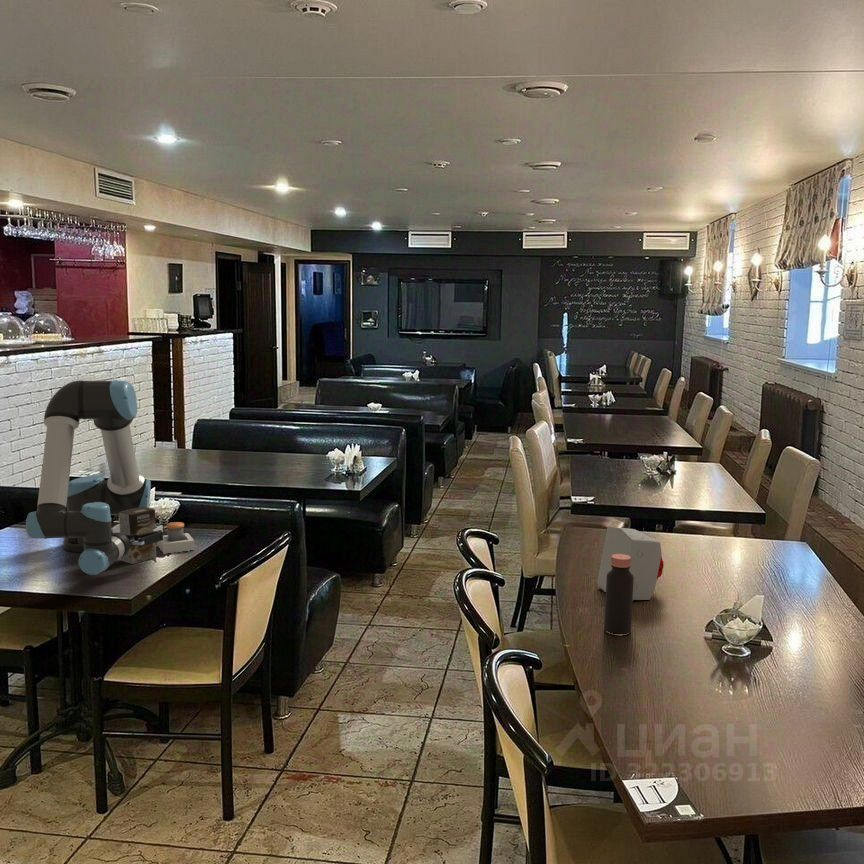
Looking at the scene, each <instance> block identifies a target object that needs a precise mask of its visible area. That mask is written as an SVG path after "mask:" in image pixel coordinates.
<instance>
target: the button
mask: <svg viewBox="0 0 864 864" xmlns="http://www.w3.org/2000/svg"><path fill="white" fill-rule="evenodd" d="M166 528H167V535H168V541H170V542H174V541H182V540H184V534H183V533H184V528H185V523H184V522H182V521H181V522H180V521H176V522H175V521H174V522H169V523H167V524H166Z"/></svg>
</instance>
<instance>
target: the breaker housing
mask: <svg viewBox="0 0 864 864" xmlns="http://www.w3.org/2000/svg"><path fill="white" fill-rule="evenodd" d="M183 534H184V540H182V541H174V542H170V541H168V534H167V535H164V534H163V540H162V541H159V542H157V546H159V547H158V548H160V549H159V550H160V552H161V551H162V552H163V553H162V552H161V553H162V555H167V554H166V553H171V554H175V553H174V552H180V553H183V552H182V551H188V552H191V551H190V550H195V539H194V538H193V536H191V534H189V533H188V532H185V533H184V532H183Z"/></svg>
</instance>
